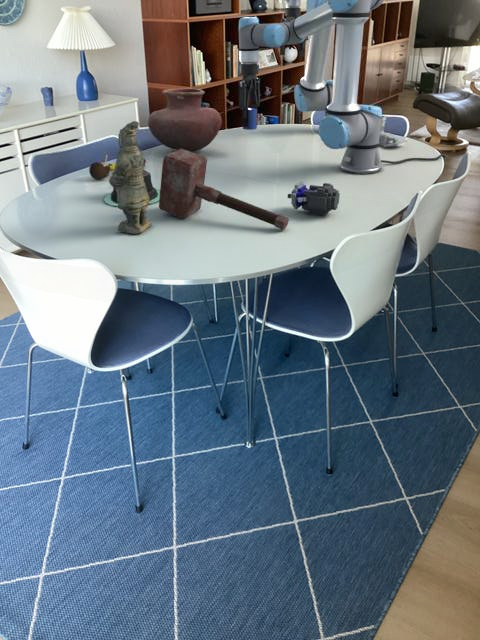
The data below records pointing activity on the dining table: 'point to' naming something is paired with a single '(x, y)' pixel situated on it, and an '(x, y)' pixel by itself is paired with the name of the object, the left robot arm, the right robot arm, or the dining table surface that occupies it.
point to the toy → (315, 198)
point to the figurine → (102, 169)
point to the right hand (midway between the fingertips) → (250, 124)
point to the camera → (387, 136)
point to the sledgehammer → (200, 190)
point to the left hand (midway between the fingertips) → (291, 55)
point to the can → (252, 119)
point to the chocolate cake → (152, 192)
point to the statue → (131, 182)
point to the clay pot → (185, 121)
